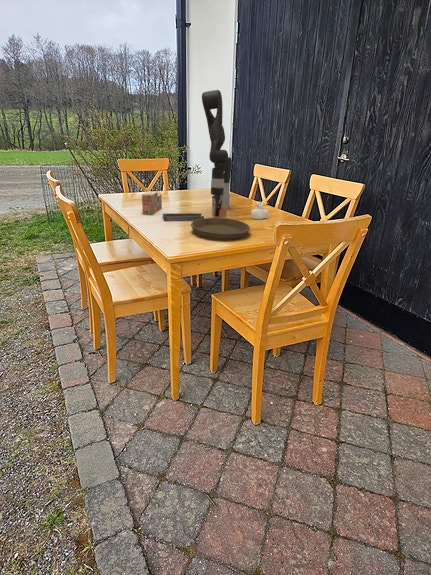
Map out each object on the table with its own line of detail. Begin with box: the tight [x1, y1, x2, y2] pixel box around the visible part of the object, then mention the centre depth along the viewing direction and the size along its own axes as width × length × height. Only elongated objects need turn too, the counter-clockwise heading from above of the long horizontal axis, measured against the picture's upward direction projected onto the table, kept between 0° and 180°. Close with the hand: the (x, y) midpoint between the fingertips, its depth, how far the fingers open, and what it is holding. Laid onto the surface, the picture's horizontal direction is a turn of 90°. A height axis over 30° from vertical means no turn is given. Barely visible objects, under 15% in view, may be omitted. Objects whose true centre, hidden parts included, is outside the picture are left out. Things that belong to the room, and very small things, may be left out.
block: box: [211, 205, 228, 218], centre depth 219 cm, size 8×4×6 cm, turn 104°
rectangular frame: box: [162, 212, 205, 222], centre depth 215 cm, size 23×8×2 cm, turn 104°
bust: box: [250, 200, 270, 220], centre depth 226 cm, size 12×8×11 cm
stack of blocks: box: [141, 190, 163, 216], centre depth 228 cm, size 21×6×12 cm, turn 172°
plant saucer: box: [190, 217, 251, 241], centre depth 192 cm, size 31×31×5 cm
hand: (216, 215), depth 220 cm, fingers closed on block, 4 cm apart
